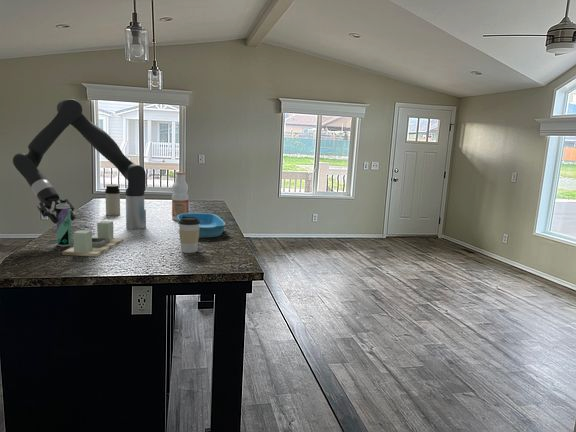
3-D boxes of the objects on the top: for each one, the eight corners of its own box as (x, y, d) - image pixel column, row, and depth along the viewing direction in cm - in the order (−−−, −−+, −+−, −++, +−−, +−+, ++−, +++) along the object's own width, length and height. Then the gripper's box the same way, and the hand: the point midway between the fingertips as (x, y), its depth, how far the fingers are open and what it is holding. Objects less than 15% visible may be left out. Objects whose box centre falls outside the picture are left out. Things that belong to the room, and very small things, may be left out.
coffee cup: (203, 249, 189) (204, 216, 187) (192, 254, 181) (193, 220, 178) (185, 247, 192) (186, 214, 190) (174, 251, 184) (174, 217, 181)
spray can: (60, 243, 188) (58, 198, 185) (73, 243, 189) (72, 198, 185) (55, 246, 183) (53, 200, 179) (68, 246, 183) (66, 200, 180)
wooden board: (93, 239, 197) (93, 237, 197) (123, 241, 197) (123, 238, 197) (62, 254, 172) (62, 251, 171) (96, 256, 171) (96, 253, 171)
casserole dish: (229, 239, 212) (229, 225, 211) (183, 241, 204) (183, 226, 203) (214, 224, 246) (214, 211, 244) (174, 225, 238) (174, 212, 236)
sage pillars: (102, 237, 196) (102, 220, 195) (113, 238, 196) (113, 221, 195) (74, 252, 172) (73, 232, 170) (86, 252, 172) (85, 233, 170)
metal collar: (90, 241, 188) (90, 237, 188) (109, 243, 188) (109, 238, 188) (80, 246, 180) (79, 242, 180) (100, 247, 180) (100, 243, 179)
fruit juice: (169, 218, 253) (169, 171, 248) (183, 217, 259) (183, 171, 254) (177, 221, 246) (177, 173, 241) (191, 220, 253) (191, 172, 248)
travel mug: (115, 216, 252) (114, 186, 249) (103, 215, 254) (102, 185, 250) (122, 214, 260) (122, 184, 257) (111, 213, 261) (110, 183, 258)
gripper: (33, 187, 178) (55, 218, 175) (63, 185, 191) (83, 213, 188) (25, 199, 180) (46, 229, 178) (55, 195, 193) (75, 223, 191)
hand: (65, 220), depth 183 cm, fingers open, 8 cm apart
